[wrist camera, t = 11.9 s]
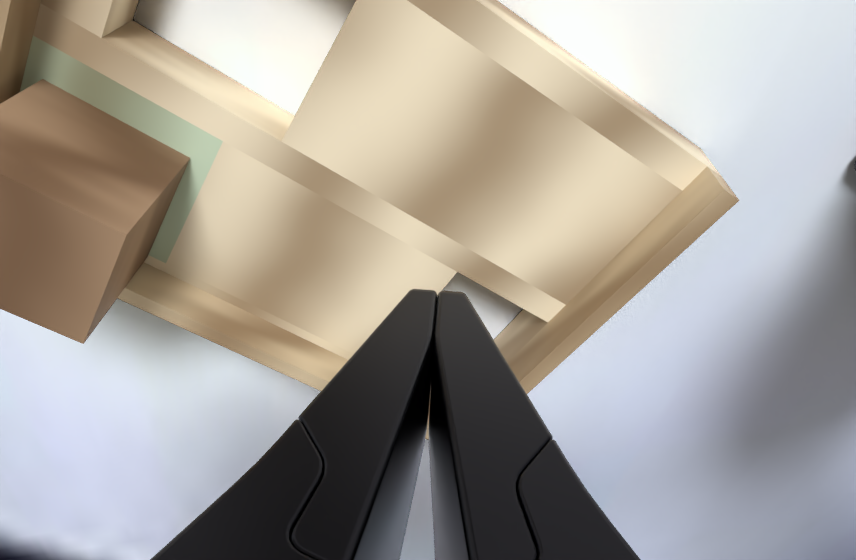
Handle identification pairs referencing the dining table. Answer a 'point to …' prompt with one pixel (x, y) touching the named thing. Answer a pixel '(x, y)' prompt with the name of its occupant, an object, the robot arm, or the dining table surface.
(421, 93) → the trap box
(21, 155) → the block
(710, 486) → the dining table surface
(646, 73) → the dining table surface
